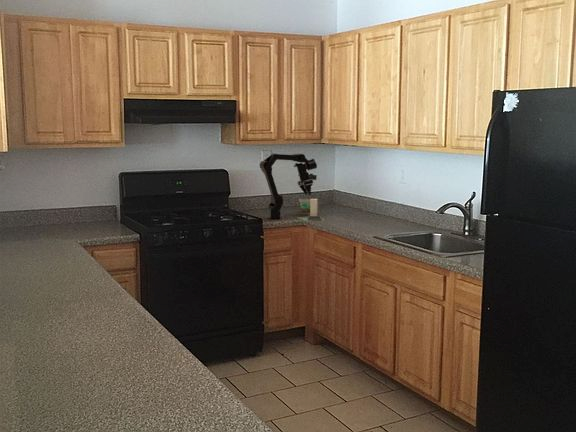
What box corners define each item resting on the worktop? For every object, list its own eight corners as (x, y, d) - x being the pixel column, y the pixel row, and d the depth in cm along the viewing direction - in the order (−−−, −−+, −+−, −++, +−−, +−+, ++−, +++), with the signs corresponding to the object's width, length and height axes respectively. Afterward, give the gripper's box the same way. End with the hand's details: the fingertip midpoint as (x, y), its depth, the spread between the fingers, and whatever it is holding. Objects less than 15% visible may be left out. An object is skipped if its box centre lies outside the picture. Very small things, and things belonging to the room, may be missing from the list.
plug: (310, 217, 436) (310, 199, 434) (310, 216, 441) (310, 198, 439) (318, 217, 436) (318, 199, 434) (318, 216, 441) (318, 198, 439)
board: (306, 222, 423) (306, 219, 422) (296, 218, 438) (296, 215, 437) (326, 221, 428) (326, 218, 427) (315, 217, 443) (315, 214, 443)
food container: (296, 213, 461) (296, 198, 459) (299, 211, 467) (299, 197, 465) (313, 214, 457) (314, 199, 456) (316, 212, 463) (316, 198, 462)
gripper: (317, 168, 432) (323, 191, 434) (310, 169, 451) (315, 191, 452) (301, 172, 430) (307, 195, 432) (294, 173, 448) (300, 195, 450)
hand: (308, 194), depth 441 cm, fingers open, 9 cm apart
